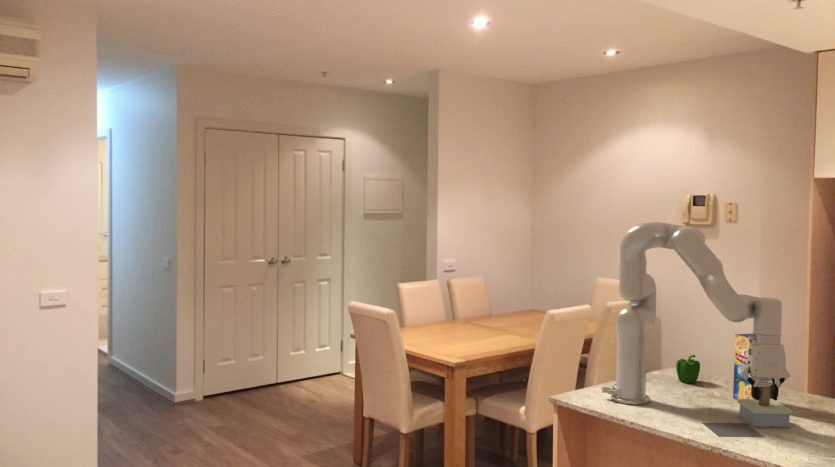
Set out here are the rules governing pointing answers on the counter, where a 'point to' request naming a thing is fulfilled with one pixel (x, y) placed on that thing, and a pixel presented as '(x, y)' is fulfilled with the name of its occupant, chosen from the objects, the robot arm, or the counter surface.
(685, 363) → the bell pepper
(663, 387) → the counter surface
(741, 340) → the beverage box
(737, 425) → the mat
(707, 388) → the counter surface
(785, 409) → the lid
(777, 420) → the dish
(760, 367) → the robot arm
